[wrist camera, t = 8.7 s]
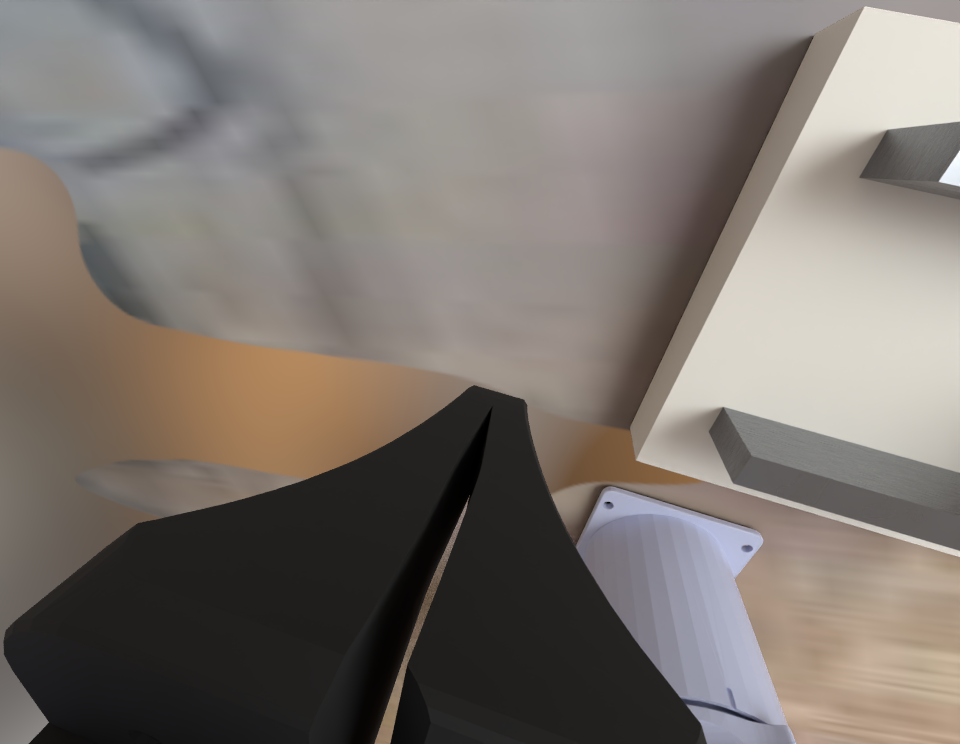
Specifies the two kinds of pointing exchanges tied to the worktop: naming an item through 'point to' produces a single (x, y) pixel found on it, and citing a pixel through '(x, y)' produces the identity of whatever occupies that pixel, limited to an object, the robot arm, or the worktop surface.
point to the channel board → (829, 273)
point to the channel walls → (841, 464)
